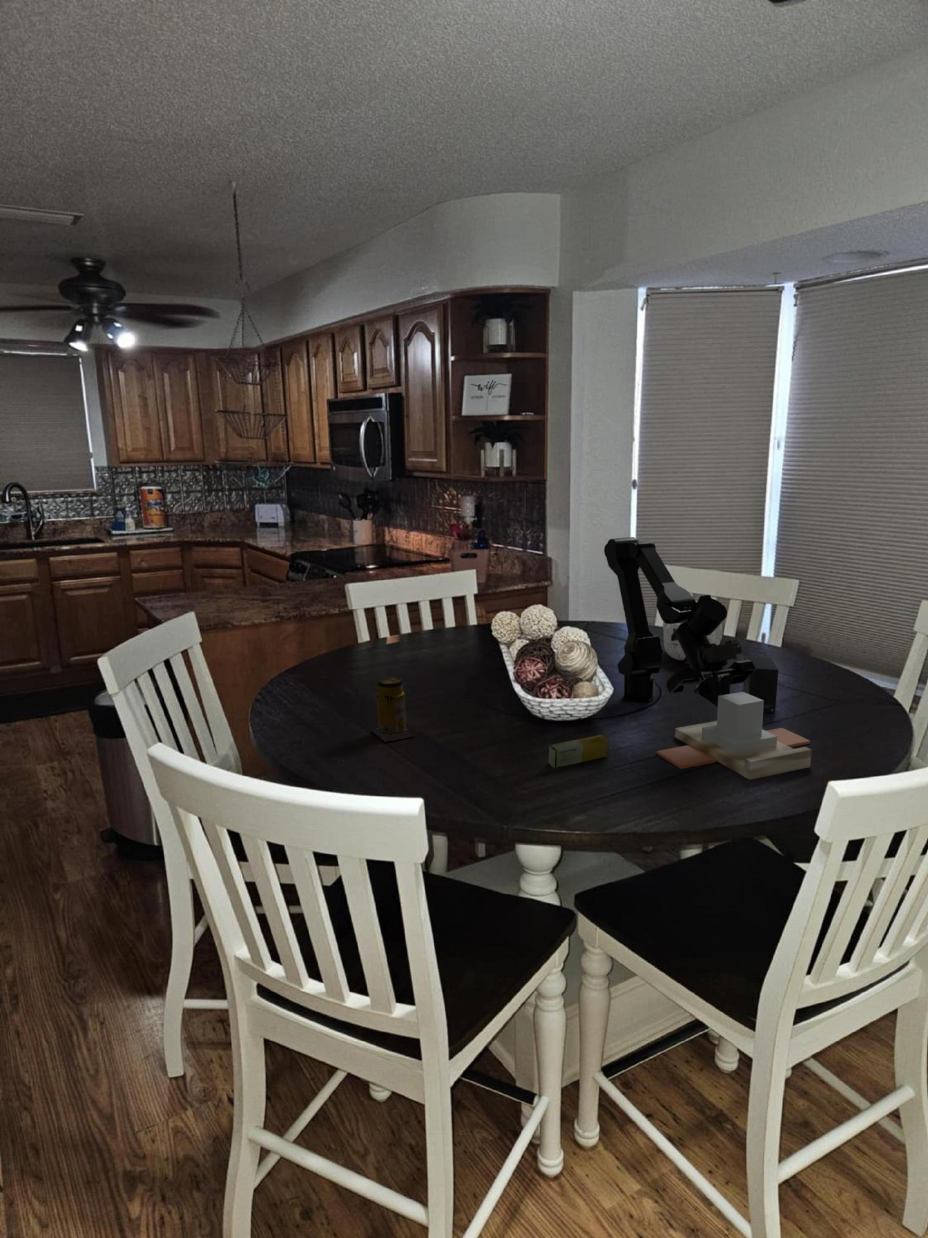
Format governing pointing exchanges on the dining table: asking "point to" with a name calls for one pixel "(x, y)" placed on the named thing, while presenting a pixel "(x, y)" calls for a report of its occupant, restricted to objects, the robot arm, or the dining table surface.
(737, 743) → the stepped block
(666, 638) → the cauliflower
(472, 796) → the dining table surface
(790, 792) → the dining table surface
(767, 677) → the small box
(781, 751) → the birch board
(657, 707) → the dining table surface
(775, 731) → the pad
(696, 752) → the pad
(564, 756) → the medication box
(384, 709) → the condiment
